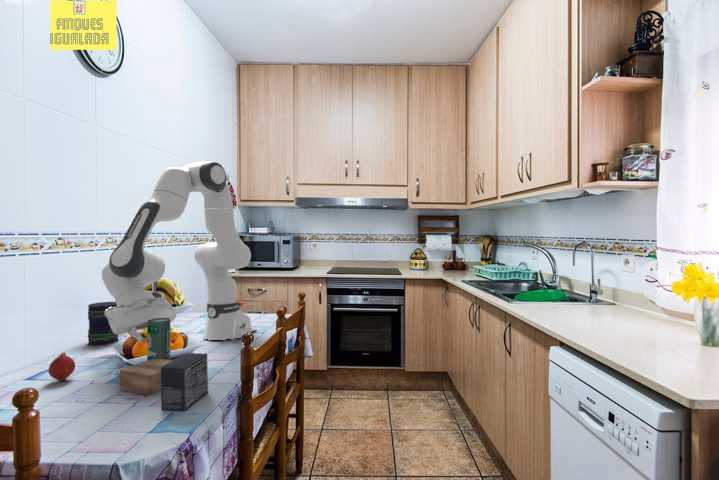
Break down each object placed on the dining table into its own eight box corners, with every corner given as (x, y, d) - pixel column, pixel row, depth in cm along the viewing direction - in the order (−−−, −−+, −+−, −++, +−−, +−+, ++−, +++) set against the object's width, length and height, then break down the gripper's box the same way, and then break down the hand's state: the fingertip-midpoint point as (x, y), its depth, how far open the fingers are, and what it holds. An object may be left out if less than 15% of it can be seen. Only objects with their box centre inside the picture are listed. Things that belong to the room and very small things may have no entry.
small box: (185, 391, 96) (185, 352, 96) (208, 392, 95) (209, 353, 95) (159, 410, 86) (159, 366, 85) (185, 412, 85) (185, 367, 85)
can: (149, 366, 115) (149, 318, 115) (170, 363, 118) (170, 317, 118) (146, 372, 110) (146, 322, 110) (168, 369, 112) (169, 321, 112)
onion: (59, 385, 100) (60, 356, 100) (43, 384, 101) (43, 355, 101) (80, 377, 105) (80, 350, 105) (63, 376, 106) (64, 349, 106)
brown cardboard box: (156, 374, 108) (156, 357, 108) (183, 380, 104) (183, 362, 104) (119, 388, 98) (119, 370, 98) (148, 395, 93) (148, 376, 93)
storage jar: (91, 340, 144) (92, 302, 144) (121, 337, 148) (121, 301, 148) (84, 347, 135) (84, 307, 135) (115, 344, 139) (115, 305, 139)
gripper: (106, 301, 107) (129, 338, 103) (167, 292, 126) (188, 323, 122) (96, 315, 109) (118, 352, 105) (157, 304, 128) (178, 335, 124)
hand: (156, 336), depth 114 cm, fingers open, 8 cm apart
